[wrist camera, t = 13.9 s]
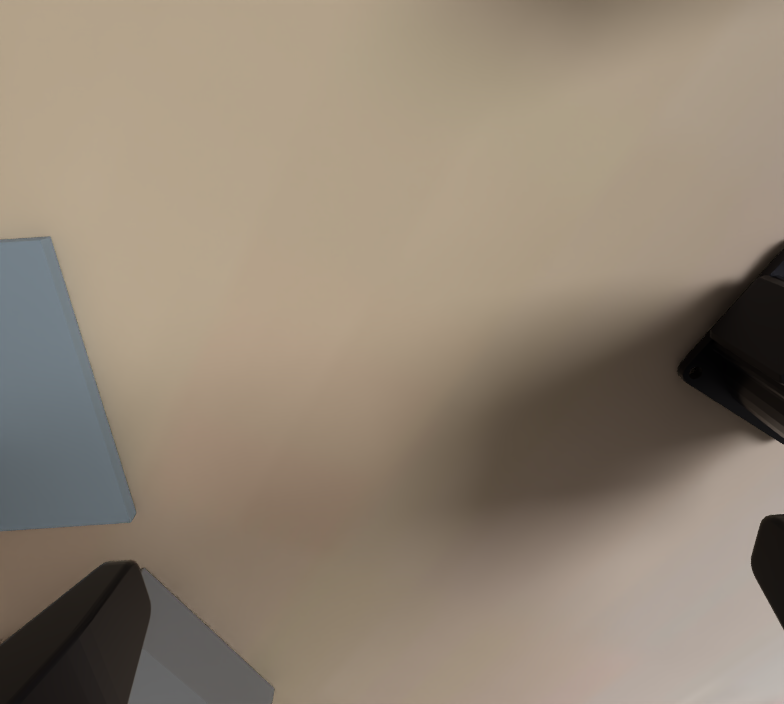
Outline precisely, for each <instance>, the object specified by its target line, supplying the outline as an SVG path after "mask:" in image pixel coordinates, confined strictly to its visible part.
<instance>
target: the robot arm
mask: <svg viewBox="0 0 784 704" xmlns="http://www.w3.org/2000/svg"><path fill="white" fill-rule="evenodd" d="M695 367H697V369H696V371H695V372H694V373H692V374H689V372H690V371H691V369H693V368H695ZM677 372H678V375H679V376H680V377H681V378H682V379H683V380H684V381H685V382H686V383H688V384H689V385H691V386H692V387H694V388H696V389H697V390H699V391H700V392H702V393H703V394H705V395H707V396H708V397H710V398H711V399H713V400H714V401H716V402H718V403H719V404H721V405H722V406H724V407H725V408H727V409H729V410H730V411H732V412H733V413H735V414H736V415H738V416H740V417H741V418H743V419H744V420H746V421H747V422H749V423H750V424H752V425H754V426H755V427H757V428H758V429H760V430H761V431H763V432H765V433H766V434H768V435H769V436H771V437H772V438H774V439H776V440H777V441H779V442H780V443H782V444H784V249H783V250H782V251H781V252H780V253H779V254H778V255H777V257H776V258H775V259H774V260H773V261H772V262H771V263H770V264H769V265H768V267H767V268H766V269H765V270H764V271H763V272H762V273H761V274H760V275H759V276H758V278H757V279H756V280H755V281H754V282H753V283H752V284H751V285H750V286H749V288H748V289H747V290H746V291H745V292H744V293H743V294H742V295H741V296H740V298H739V299H738V300H737V301H736V302H735V303H734V304H733V305H732V306H731V308H730V309H729V310H728V311H727V312H726V313H725V314H724V315H723V316H722V318H721V319H720V320H719V321H718V322H717V323H716V324H715V325H714V326H713V328H712V329H711V330H710V331H709V332H708V333H707V334H706V335H705V336H704V338H703V339H702V340H701V341H700V342H699V343H698V344H697V345H696V346H695V348H694V349H693V350H692V351H691V352H690V353H689V354H688V355H687V356H686V358H685V359H684V360H683V361H682V362H681V363H680V365H679V367H678V371H677ZM751 566H752V571H753V573H754V576H755V578H756V580H757V582H758V584H759V585H760V587H761V589H762V591H763V593H764V594H765V596H766V598H767V600H768V602H769V604H770V605H771V607H772V609H773V611H774V613H775V615H776V616H777V618H778V620H779V622H780V624H781V626H782V627H783V629H784V514H779V515H769V516H766V517H765V518H764V519H763V520H762V521H761V523H760V527H759V530H758V534H757V537H756V541H755V545H754V548H753V552H752V555H751ZM150 616H151V601H150V597H149V594H148V591H147V588H146V585H145V582H144V579H143V576H142V573H141V570H140V567H139V565H138V564H137V563H136V562H135V561H133V560H121V561H109V562H105V563H103V564H102V565H100V566H99V567H98V568H96V569H95V570H94V571H92V572H91V573H90V574H89V575H87V576H86V577H85V578H84V579H82V580H81V581H80V582H79V583H77V584H76V585H75V586H74V587H72V588H71V589H70V590H69V591H67V592H66V593H65V594H64V595H62V596H61V597H60V598H59V599H57V600H56V601H55V602H54V603H52V604H51V605H50V606H48V607H47V608H46V609H45V610H43V611H42V612H41V613H40V614H38V615H37V616H36V617H35V618H33V619H32V620H31V621H30V622H28V623H27V624H26V625H25V626H23V627H22V628H21V629H20V630H18V631H17V632H16V633H15V634H13V635H12V636H11V637H10V638H8V639H7V640H6V641H4V642H3V643H2V644H1V645H0V704H128V701H129V697H130V694H131V690H132V686H133V682H134V678H135V674H136V671H137V667H138V663H139V659H140V655H141V652H142V648H143V644H144V640H145V636H146V633H147V629H148V625H149V621H150Z"/></svg>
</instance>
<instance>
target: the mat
mask: <svg viewBox="0 0 784 704" xmlns="http://www.w3.org/2000/svg"><path fill="white" fill-rule="evenodd" d="M135 515H136V510H135V507H134V504H133V501H132V497H131V494H130V491H129V488H128V484H127V481H126V478H125V475H124V472H123V468H122V465H121V462H120V459H119V456H118V452H117V449H116V446H115V443H114V439H113V436H112V433H111V430H110V427H109V423H108V420H107V417H106V414H105V411H104V407H103V404H102V401H101V398H100V394H99V391H98V388H97V385H96V382H95V378H94V375H93V372H92V369H91V366H90V362H89V359H88V356H87V353H86V350H85V346H84V343H83V340H82V337H81V333H80V330H79V327H78V324H77V321H76V317H75V314H74V311H73V308H72V305H71V301H70V298H69V295H68V292H67V288H66V285H65V282H64V279H63V276H62V272H61V269H60V266H59V263H58V260H57V256H56V253H55V250H54V247H53V244H52V240H51V237H35V238H19V239H3V240H0V531H11V530H26V529H41V528H56V527H72V526H87V525H102V524H117V523H131V521H132V520H133V518H134V516H135Z"/></svg>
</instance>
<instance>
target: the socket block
mask: <svg viewBox="0 0 784 704" xmlns="http://www.w3.org/2000/svg"><path fill="white" fill-rule="evenodd" d="M141 573H142V576H143V579H144V582H145V585H146V588H147V591H148V594H149V597H150V601H151V616H150V621H149V625H148V629H147V633H146V636H145V640H144V644H143V648H142V652H141V655H140V659H139V663H138V667H137V671H136V674H135V678H134V682H133V686H132V690H131V694H130V697H129V701H128V704H272V700H273V695H274V688H273V687H272V686H271V685H270V684H269V683H268V682H267V681H266V680H265V679H263V678H262V677H261V676H260V675H259V674H258V673H257V672H256V671H255V670H254V669H253V668H252V667H251V666H249V665H248V664H247V663H246V662H245V661H244V660H243V659H242V658H241V657H240V656H239V655H238V654H237V653H235V652H234V651H233V650H232V649H231V648H230V647H229V646H228V645H227V644H226V643H225V642H224V641H223V640H221V639H220V638H219V637H218V636H217V635H216V634H215V633H214V632H213V631H212V630H211V629H210V628H209V627H207V626H206V625H205V624H204V623H203V622H202V621H201V620H200V619H199V618H198V617H197V616H196V615H194V614H193V613H192V612H191V611H190V610H189V609H188V608H187V607H186V606H185V605H184V604H183V603H182V602H180V601H179V600H178V599H177V598H176V597H175V596H174V595H173V594H172V593H171V592H170V591H169V590H168V589H166V588H165V587H164V586H163V585H162V584H161V583H160V582H159V581H158V580H157V579H156V578H155V577H154V576H152V575H151V574H150V573H149V572H148V571H147V570H146V569H145V568H143V569H141Z"/></svg>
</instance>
